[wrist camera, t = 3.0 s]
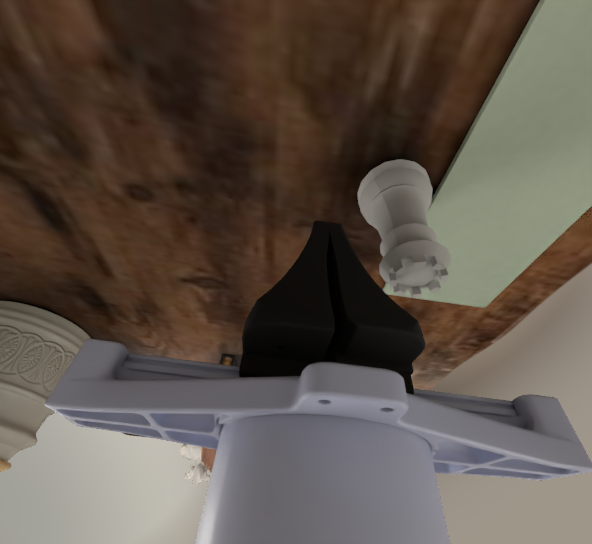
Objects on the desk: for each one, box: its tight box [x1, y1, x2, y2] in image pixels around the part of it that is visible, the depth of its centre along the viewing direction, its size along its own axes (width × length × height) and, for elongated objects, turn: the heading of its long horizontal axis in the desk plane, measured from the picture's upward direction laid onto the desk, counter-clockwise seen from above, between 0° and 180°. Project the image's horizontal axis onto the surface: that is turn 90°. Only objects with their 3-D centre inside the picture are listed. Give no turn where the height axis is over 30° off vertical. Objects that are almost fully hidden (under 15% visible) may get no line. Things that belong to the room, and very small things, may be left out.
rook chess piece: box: [357, 159, 451, 298], centre depth 16 cm, size 4×4×8 cm
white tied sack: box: [180, 444, 210, 484], centre depth 67 cm, size 12×8×11 cm
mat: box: [382, 0, 592, 308], centre depth 19 cm, size 20×10×1 cm, turn 173°
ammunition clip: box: [201, 355, 237, 472], centre depth 38 cm, size 11×2×12 cm, turn 175°
